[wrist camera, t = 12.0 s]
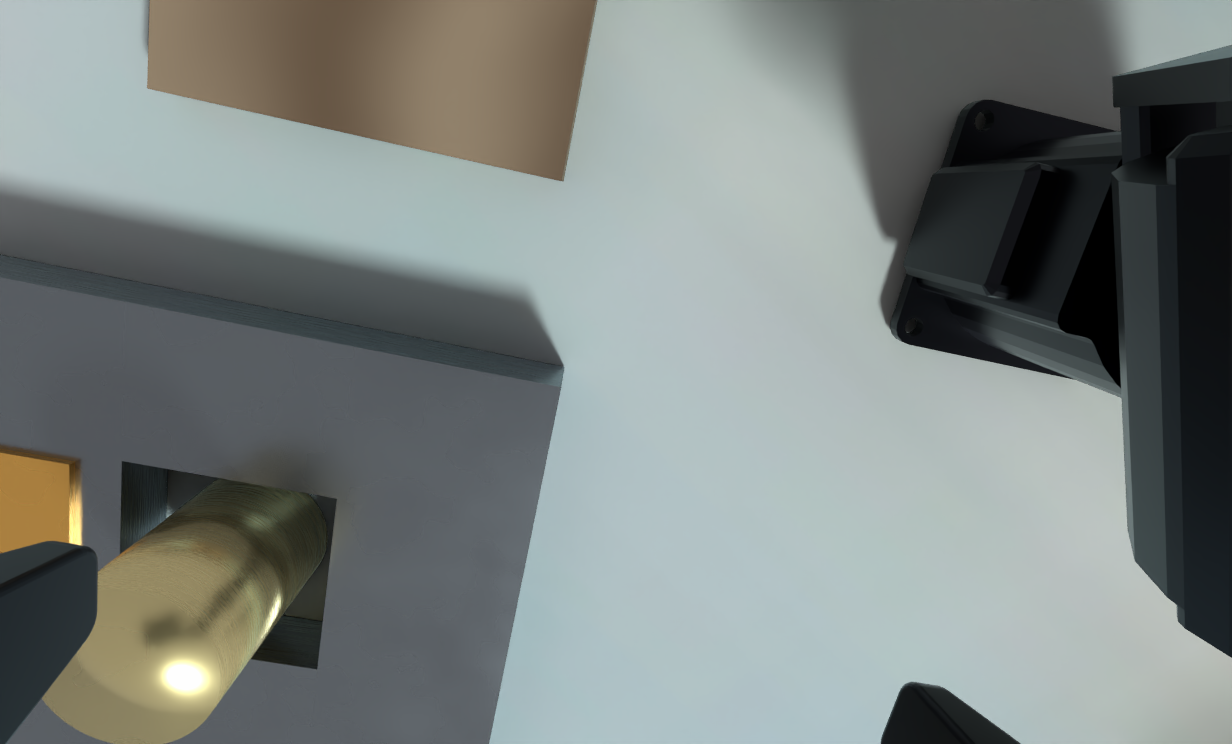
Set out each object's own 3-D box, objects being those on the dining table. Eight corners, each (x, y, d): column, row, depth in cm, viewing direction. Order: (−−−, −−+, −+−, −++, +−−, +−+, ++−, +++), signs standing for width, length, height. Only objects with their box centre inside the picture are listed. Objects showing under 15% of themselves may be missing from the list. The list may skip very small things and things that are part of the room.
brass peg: (334, 484, 20) (225, 608, 14) (321, 598, 21) (215, 758, 15) (195, 459, 19) (25, 575, 14) (189, 577, 20) (27, 732, 15)
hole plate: (564, 367, 19) (560, 389, 17) (485, 755, 22) (474, 814, 20) (-31, 248, 17) (-116, 256, 15) (-13, 683, 21) (-80, 738, 19)
